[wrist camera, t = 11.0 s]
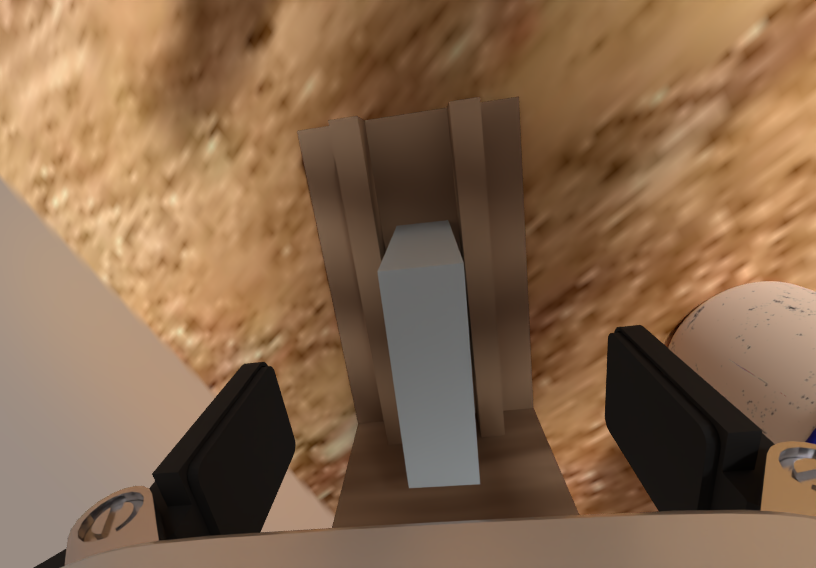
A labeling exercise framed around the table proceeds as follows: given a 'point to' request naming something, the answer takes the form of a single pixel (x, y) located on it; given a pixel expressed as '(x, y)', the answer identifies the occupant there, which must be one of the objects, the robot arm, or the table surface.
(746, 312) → the teacup with lid
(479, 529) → the robot arm
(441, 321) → the door panel
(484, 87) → the table surface
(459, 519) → the track
